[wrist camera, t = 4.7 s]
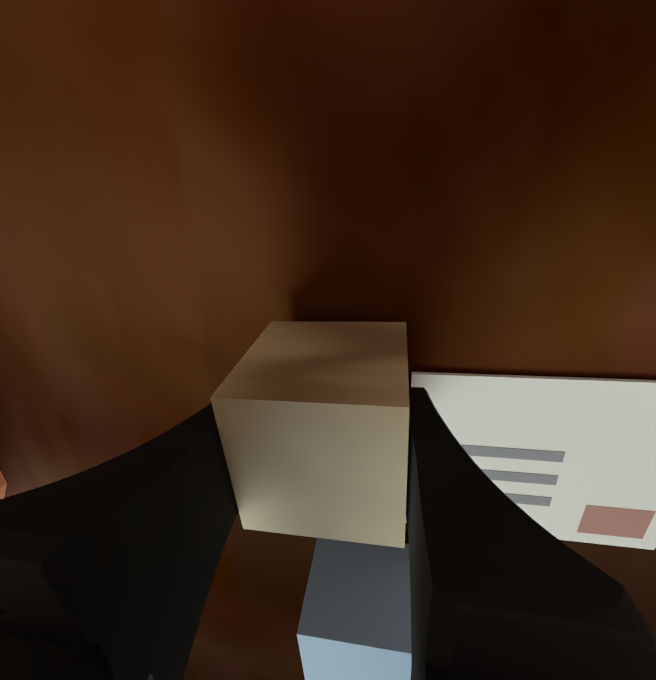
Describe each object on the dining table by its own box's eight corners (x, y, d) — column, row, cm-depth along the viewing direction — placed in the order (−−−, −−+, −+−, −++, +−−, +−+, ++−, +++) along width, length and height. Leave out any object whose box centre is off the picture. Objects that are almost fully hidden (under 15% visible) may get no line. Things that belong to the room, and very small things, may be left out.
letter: (734, 382, 11) (739, 386, 11) (651, 546, 15) (654, 550, 15) (392, 371, 13) (392, 373, 13) (389, 518, 17) (389, 521, 17)
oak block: (406, 322, 11) (409, 407, 7) (403, 433, 13) (404, 548, 9) (271, 321, 12) (209, 397, 8) (286, 426, 14) (243, 528, 10)
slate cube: (409, 542, 18) (412, 653, 14) (405, 596, 20) (408, 707, 16) (318, 531, 18) (296, 634, 14) (324, 584, 20) (306, 687, 16)
